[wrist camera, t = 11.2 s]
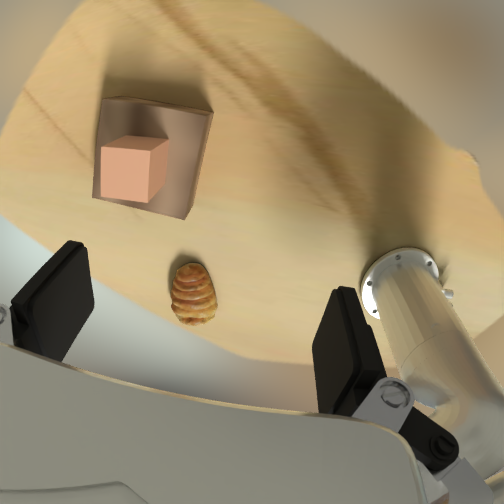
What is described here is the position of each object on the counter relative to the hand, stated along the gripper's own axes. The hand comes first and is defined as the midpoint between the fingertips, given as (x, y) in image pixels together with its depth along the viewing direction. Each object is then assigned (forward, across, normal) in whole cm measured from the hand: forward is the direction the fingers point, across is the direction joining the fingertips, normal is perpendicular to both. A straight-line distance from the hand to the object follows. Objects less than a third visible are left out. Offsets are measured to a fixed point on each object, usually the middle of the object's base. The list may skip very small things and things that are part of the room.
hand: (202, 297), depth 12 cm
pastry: (+29, +5, +22) cm, 36 cm away
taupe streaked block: (+29, +11, +2) cm, 31 cm away
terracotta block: (+24, +11, +2) cm, 26 cm away
